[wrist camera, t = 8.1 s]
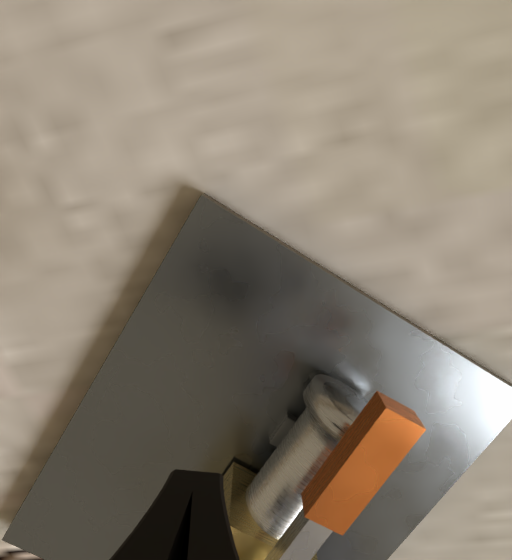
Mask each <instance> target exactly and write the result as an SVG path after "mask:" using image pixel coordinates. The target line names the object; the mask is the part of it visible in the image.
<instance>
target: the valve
mask: <svg viewBox="0 0 512 560" xmlns="http://www.w3.org/2000/svg"><path fill="white" fill-rule="evenodd" d="M376 391H379V392H381V393H383V394H384V395H386V396H388V397H390V398H392V399H394V400H395V401H397V402H399V403H401V404H403V405H404V406H406V407H408V408H410V409H412V410H414V411H415V413H416V414H417V416H418V418H419V419H420V421H421V422H422V424H423V425H424V427H425V428H426V430H425V432H424V433H423V434H422V436H421V437H420V438H419V439H418V441H417V442H416V443H415V444H414V446H413V447H412V448H411V450H410V451H409V452H408V453H407V455H406V456H405V457H404V458H403V460H402V461H401V462H400V464H399V465H398V466H397V467H396V469H395V470H394V471H393V472H392V474H391V475H390V476H389V477H388V479H387V480H386V481H385V483H384V484H383V485H382V486H381V488H380V489H379V490H378V491H377V493H376V494H375V495H374V497H373V498H372V499H371V500H370V502H369V503H368V504H367V505H366V507H365V508H364V509H363V511H362V512H361V513H360V514H359V516H358V517H357V518H356V519H355V521H354V522H353V523H352V524H351V526H350V527H349V528H348V530H347V531H346V532H345V533H344V535H343V536H342V535H340V534H338V533H336V532H334V531H333V532H332V533H331V534H330V536H329V537H328V538H327V539H326V541H325V542H324V543H323V545H322V546H321V547H320V548H319V550H318V551H317V552H316V554H315V555H314V556H313V557H312V559H311V560H387V559H388V558H389V557H390V556H391V555H392V553H393V552H394V551H395V550H396V549H397V548H398V547H399V546H400V544H401V543H402V542H403V541H404V540H405V539H406V538H407V536H408V535H409V534H410V533H411V532H412V531H413V530H414V529H415V527H416V526H417V525H418V524H419V523H420V522H421V521H422V520H423V518H424V517H425V516H426V515H427V514H428V513H429V512H430V511H431V509H432V508H433V507H434V506H435V505H436V504H437V503H438V501H439V500H440V499H441V498H442V497H443V496H444V495H445V494H446V492H447V491H448V490H449V489H450V488H451V487H452V486H453V485H454V483H455V482H456V481H457V480H458V479H459V478H460V477H461V475H462V474H463V473H464V472H465V471H466V470H467V469H468V468H469V466H470V465H471V464H472V463H473V462H474V461H475V460H476V459H477V457H478V456H479V455H480V454H481V453H482V452H483V451H484V450H485V448H486V447H487V446H488V445H489V444H490V443H491V442H492V440H493V439H494V438H495V437H496V436H497V435H498V434H499V433H500V431H501V430H502V429H503V428H504V427H505V426H506V425H507V424H508V422H509V421H510V420H511V419H512V384H510V383H508V382H507V381H505V380H504V379H502V378H500V377H499V376H497V375H496V374H494V373H492V372H491V371H489V370H488V369H486V368H484V367H483V366H481V365H480V364H478V363H476V362H475V361H473V360H471V359H470V358H468V357H467V356H465V355H463V354H462V353H460V352H459V351H457V350H455V349H454V348H452V347H451V346H449V345H447V344H446V343H444V342H443V341H441V340H439V339H438V338H436V337H435V336H433V335H431V334H430V333H428V332H427V331H425V330H423V329H422V328H420V327H418V326H417V325H415V324H414V323H412V322H410V321H409V320H407V319H406V318H404V317H402V316H401V315H399V314H398V313H396V312H394V311H393V310H391V309H390V308H388V307H386V306H385V305H383V304H382V303H380V302H378V301H377V300H375V299H373V298H372V297H370V296H369V295H367V294H365V293H364V292H362V291H361V290H359V289H357V288H356V287H354V286H353V285H351V284H349V283H348V282H346V281H345V280H343V279H341V278H340V277H338V276H337V275H335V274H333V273H332V272H330V271H328V270H327V269H325V268H324V267H322V266H320V265H319V264H317V263H316V262H314V261H312V260H311V259H309V258H308V257H306V256H304V255H303V254H301V253H300V252H298V251H296V250H295V249H293V248H292V247H290V246H288V245H287V244H285V243H283V242H282V241H280V240H279V239H277V238H275V237H274V236H272V235H271V234H269V233H267V232H266V231H264V230H263V229H261V228H259V227H258V226H256V225H255V224H253V223H251V222H250V221H248V220H247V219H245V218H243V217H242V216H240V215H238V214H237V213H235V212H234V211H232V210H230V209H229V208H227V207H226V206H224V205H222V204H221V203H219V202H218V201H216V200H214V199H213V198H211V197H210V196H208V195H206V194H205V193H204V194H202V195H201V196H200V198H199V200H198V201H197V203H196V205H195V207H194V208H193V210H192V212H191V214H190V215H189V217H188V219H187V221H186V222H185V224H184V226H183V227H182V229H181V231H180V233H179V234H178V236H177V238H176V240H175V241H174V243H173V245H172V246H171V248H170V250H169V252H168V253H167V255H166V257H165V259H164V260H163V262H162V264H161V265H160V267H159V269H158V271H157V272H156V274H155V276H154V278H153V279H152V281H151V283H150V284H149V286H148V288H147V290H146V291H145V293H144V295H143V297H142V298H141V300H140V302H139V304H138V305H137V307H136V309H135V310H134V312H133V314H132V316H131V317H130V319H129V321H128V323H127V324H126V326H125V328H124V329H123V331H122V333H121V335H120V336H119V338H118V340H117V342H116V343H115V345H114V347H113V348H112V350H111V352H110V354H109V355H108V357H107V359H106V361H105V362H104V364H103V366H102V367H101V369H100V371H99V373H98V374H97V376H96V378H95V380H94V381H93V383H92V385H91V387H90V388H89V390H88V392H87V393H86V395H85V397H84V399H83V400H82V402H81V404H80V406H79V407H78V409H77V411H76V412H75V414H74V416H73V418H72V419H71V421H70V423H69V425H68V426H67V428H66V430H65V431H64V433H63V435H62V437H61V438H60V440H59V442H58V444H57V445H56V447H55V449H54V450H53V452H52V454H51V456H50V457H49V459H48V461H47V463H46V464H45V466H44V468H43V470H42V471H41V473H40V475H39V476H38V478H37V480H36V482H35V483H34V485H33V487H32V489H31V490H30V492H29V494H28V495H27V497H26V499H25V501H24V502H23V504H22V506H21V508H20V509H19V511H18V513H17V514H16V516H15V518H14V520H13V521H12V523H11V525H10V527H9V528H8V530H7V532H6V533H5V535H4V537H3V539H2V540H3V541H5V542H8V543H10V544H12V545H14V546H16V547H18V548H21V549H23V550H25V551H27V552H29V553H32V554H34V555H36V556H38V557H40V558H43V559H45V560H109V559H110V558H111V557H112V556H113V555H114V553H115V552H116V551H117V550H118V548H119V547H120V546H121V545H122V544H123V542H124V541H125V540H126V539H127V537H128V536H129V535H130V534H131V532H132V531H133V530H134V528H135V527H136V526H137V524H138V523H139V522H140V520H141V519H142V517H143V516H144V515H145V513H146V512H147V510H148V509H149V508H150V506H151V505H152V503H153V502H154V500H155V499H156V497H157V496H158V494H159V492H160V491H161V489H162V488H163V486H164V484H165V482H166V481H167V479H168V477H169V475H170V473H171V472H172V471H174V470H175V469H179V470H190V471H201V472H212V473H220V474H221V475H222V476H223V477H224V479H223V486H224V497H225V503H226V509H227V514H228V519H229V523H230V527H231V531H232V535H233V539H234V542H235V546H236V549H237V553H238V556H239V559H240V560H264V559H265V558H266V557H267V555H268V554H269V553H270V551H271V550H272V548H273V547H274V546H275V544H276V543H277V542H278V540H279V539H280V538H281V536H282V535H283V534H284V532H285V531H286V530H287V528H288V527H289V526H290V524H291V523H292V521H293V520H294V519H295V517H296V516H297V515H298V513H299V512H300V511H301V509H302V508H303V503H302V496H301V493H302V492H303V490H304V489H305V488H306V486H307V485H308V484H309V482H310V481H311V479H312V478H313V477H314V475H315V474H316V473H317V471H318V470H319V469H320V467H321V466H322V464H323V463H324V462H325V460H326V459H327V458H328V456H329V455H330V454H331V452H332V451H333V449H334V448H335V447H336V445H337V444H338V443H339V441H340V440H341V438H342V437H343V436H344V434H345V433H346V432H347V430H348V429H349V428H350V426H351V425H352V423H353V422H354V421H355V419H356V418H357V417H358V415H359V414H360V413H361V411H362V410H363V408H364V407H365V406H366V404H367V403H368V402H369V400H370V399H371V398H372V396H373V395H374V393H375V392H376Z"/></svg>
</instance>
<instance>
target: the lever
mask: <svg viewBox="0 0 512 560" xmlns="http://www.w3.org/2000/svg"><path fill="white" fill-rule="evenodd" d="M425 430H426V428H425V427H424V425H423V424H422V422H421V421H420V419H419V418H418V416H417V414H416V413H415V411H414V410H412V409H410V408H408V407H406V406H404V405H403V404H401V403H399V402H397V401H395V400H394V399H392V398H390V397H388V396H386V395H384V394H383V393H381V392H379V391H376V392H375V393H374V395H373V396H372V398H371V399H370V400H369V402H368V403H367V404H366V406H365V407H364V408H363V410H362V411H361V413H360V414H359V415H358V417H357V418H356V419H355V421H354V422H353V423H352V425H351V426H350V428H349V429H348V430H347V432H346V433H345V434H344V436H343V437H342V438H341V440H340V441H339V443H338V444H337V445H336V447H335V448H334V449H333V451H332V452H331V454H330V455H329V456H328V458H327V459H326V460H325V462H324V463H323V464H322V466H321V467H320V469H319V470H318V471H317V473H316V474H315V475H314V477H313V478H312V479H311V481H310V482H309V484H308V485H307V486H306V488H305V489H304V490H303V492H302V493H301V496H302V503H303V508H302V509H301V511H300V512H299V513H298V515H297V516H296V517H295V519H294V520H293V521H292V523H291V524H290V526H289V527H288V528H287V530H286V531H285V532H284V534H283V535H282V536H281V538H280V539H279V540H278V542H277V543H276V544H275V546H274V547H273V548H272V550H271V551H270V553H269V554H268V555H267V557H266V558H265V559H264V560H311V559H312V557H313V556H314V555H315V554H316V552H317V551H318V550H319V548H320V547H321V546H322V545H323V543H324V542H325V541H326V539H327V538H328V537H329V536H330V534H331V533H332V532H333V531H334V532H336V533H338V534H340V535H342V536H343V535H344V533H345V532H346V531H347V530H348V528H349V527H350V526H351V524H352V523H353V522H354V521H355V519H356V518H357V517H358V516H359V514H360V513H361V512H362V511H363V509H364V508H365V507H366V505H367V504H368V503H369V502H370V500H371V499H372V498H373V497H374V495H375V494H376V493H377V491H378V490H379V489H380V488H381V486H382V485H383V484H384V483H385V481H386V480H387V479H388V477H389V476H390V475H391V474H392V472H393V471H394V470H395V469H396V467H397V466H398V465H399V464H400V462H401V461H402V460H403V458H404V457H405V456H406V455H407V453H408V452H409V451H410V450H411V448H412V447H413V446H414V444H415V443H416V442H417V441H418V439H419V438H420V437H421V436H422V434H423V433H424V432H425Z"/></svg>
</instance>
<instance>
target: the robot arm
mask: <svg viewBox="0 0 512 560" xmlns="http://www.w3.org/2000/svg"><path fill="white" fill-rule="evenodd" d="M223 479H224V477H223V476H222V475H221V474H220V473H212V472H201V471H190V470H179V469H175V470H174V471H172V472H171V473H170V475H169V477H168V479H167V481H166V482H165V484H164V486H163V488H162V489H161V491H160V492H159V494H158V496H157V497H156V499H155V500H154V502H153V503H152V505H151V506H150V508H149V509H148V510H147V512H146V513H145V515H144V516H143V517H142V519H141V520H140V522H139V523H138V524H137V526H136V527H135V528H134V530H133V531H132V532H131V534H130V535H129V536H128V537H127V539H126V540H125V541H124V542H123V544H122V545H121V546H120V547H119V548H118V550H117V551H116V552H115V553H114V555H113V556H112V557H111V558H110V559H109V560H240V559H239V556H238V553H237V549H236V546H235V542H234V539H233V535H232V531H231V527H230V523H229V519H228V514H227V509H226V503H225V497H224V486H223Z"/></svg>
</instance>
